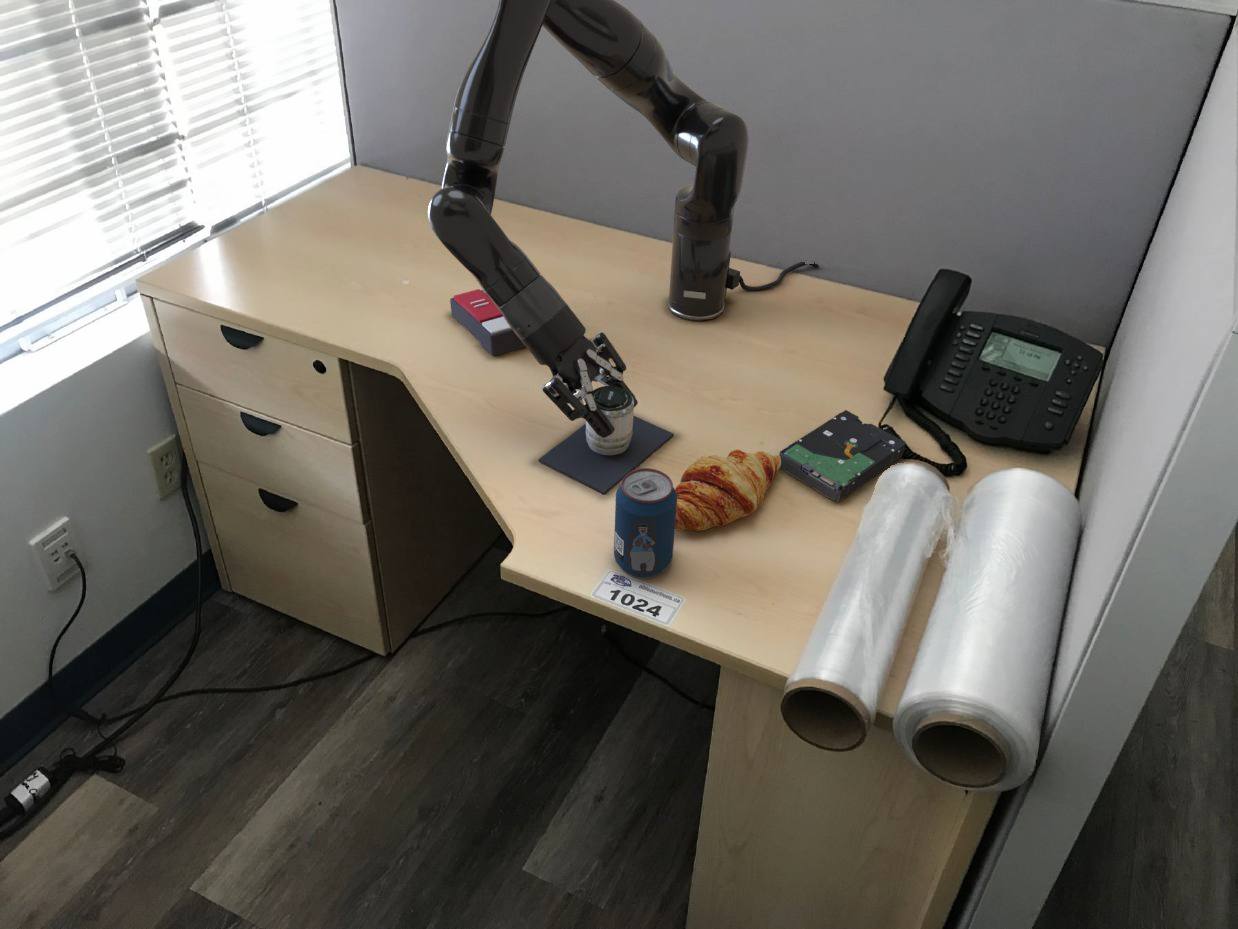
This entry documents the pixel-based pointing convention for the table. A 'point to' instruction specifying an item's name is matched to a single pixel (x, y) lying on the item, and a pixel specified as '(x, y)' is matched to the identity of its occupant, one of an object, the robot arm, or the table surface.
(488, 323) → the calculator
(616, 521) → the soda can
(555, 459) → the felt mat
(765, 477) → the croissant
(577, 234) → the table surface
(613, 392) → the camera lens
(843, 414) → the disk drive
